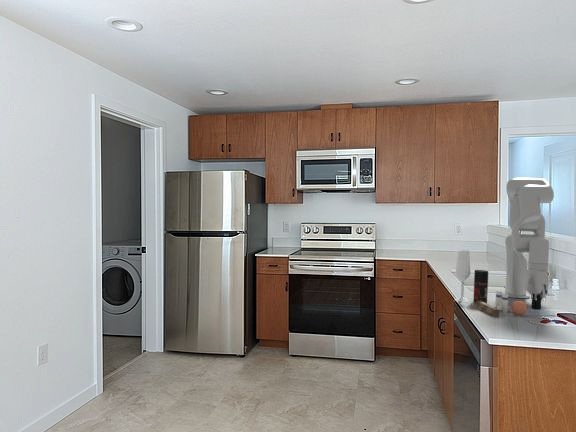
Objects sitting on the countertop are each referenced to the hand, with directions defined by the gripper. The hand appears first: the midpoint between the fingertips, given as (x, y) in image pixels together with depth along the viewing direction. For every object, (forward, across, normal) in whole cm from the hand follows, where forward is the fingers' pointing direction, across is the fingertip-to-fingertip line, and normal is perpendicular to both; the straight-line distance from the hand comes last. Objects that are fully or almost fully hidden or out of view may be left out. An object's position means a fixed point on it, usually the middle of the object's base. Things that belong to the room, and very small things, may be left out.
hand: (536, 309), depth 195 cm
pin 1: (+2, -2, -15) cm, 16 cm away
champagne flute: (+2, -22, -23) cm, 32 cm away
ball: (-2, +4, -10) cm, 11 cm away
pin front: (0, 0, -12) cm, 12 cm away
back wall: (+2, 0, -22) cm, 22 cm away
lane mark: (+2, 0, -8) cm, 8 cm away
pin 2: (+2, +2, -15) cm, 16 cm away
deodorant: (+2, -18, -16) cm, 24 cm away
